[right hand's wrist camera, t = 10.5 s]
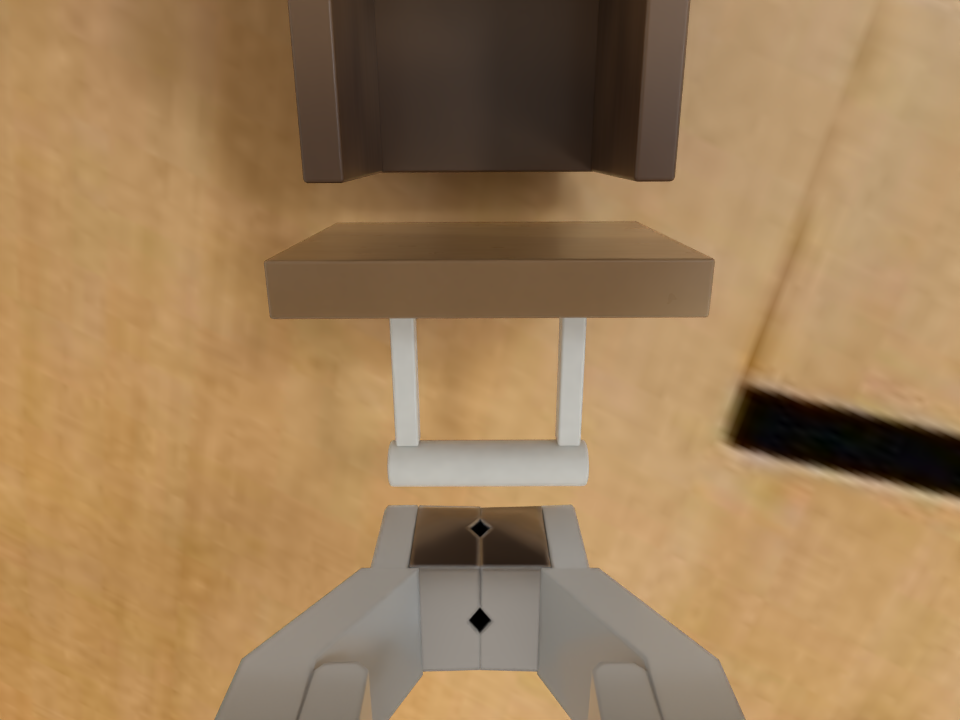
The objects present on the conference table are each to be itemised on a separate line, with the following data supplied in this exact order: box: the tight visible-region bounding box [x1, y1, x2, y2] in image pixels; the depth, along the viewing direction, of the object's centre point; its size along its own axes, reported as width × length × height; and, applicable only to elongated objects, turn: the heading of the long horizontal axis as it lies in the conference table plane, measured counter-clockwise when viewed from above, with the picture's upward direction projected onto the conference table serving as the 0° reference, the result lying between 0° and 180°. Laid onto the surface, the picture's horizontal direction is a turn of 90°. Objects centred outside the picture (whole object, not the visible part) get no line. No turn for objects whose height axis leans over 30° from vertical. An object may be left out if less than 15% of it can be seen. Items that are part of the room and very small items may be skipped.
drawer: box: [264, 0, 715, 487], centre depth 14 cm, size 22×9×7 cm, turn 0°
